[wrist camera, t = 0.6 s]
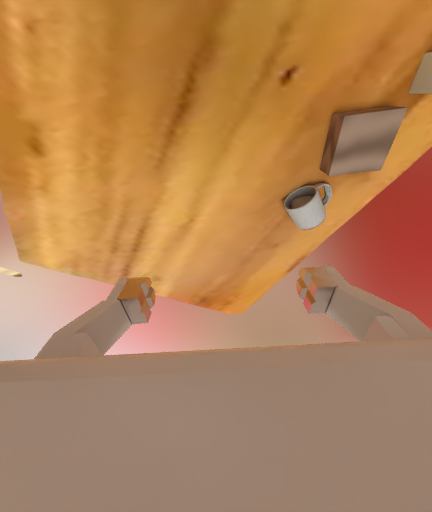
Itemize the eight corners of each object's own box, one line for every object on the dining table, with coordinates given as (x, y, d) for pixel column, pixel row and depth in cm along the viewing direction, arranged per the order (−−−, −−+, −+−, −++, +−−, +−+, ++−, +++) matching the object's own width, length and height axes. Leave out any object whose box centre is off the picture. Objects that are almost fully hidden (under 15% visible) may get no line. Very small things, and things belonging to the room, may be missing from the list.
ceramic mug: (293, 221, 51) (303, 237, 45) (279, 199, 47) (288, 214, 41) (333, 198, 47) (350, 212, 41) (322, 171, 43) (338, 183, 37)
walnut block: (331, 113, 36) (344, 116, 32) (387, 106, 35) (407, 107, 31) (319, 168, 43) (328, 175, 39) (366, 163, 42) (380, 170, 38)
